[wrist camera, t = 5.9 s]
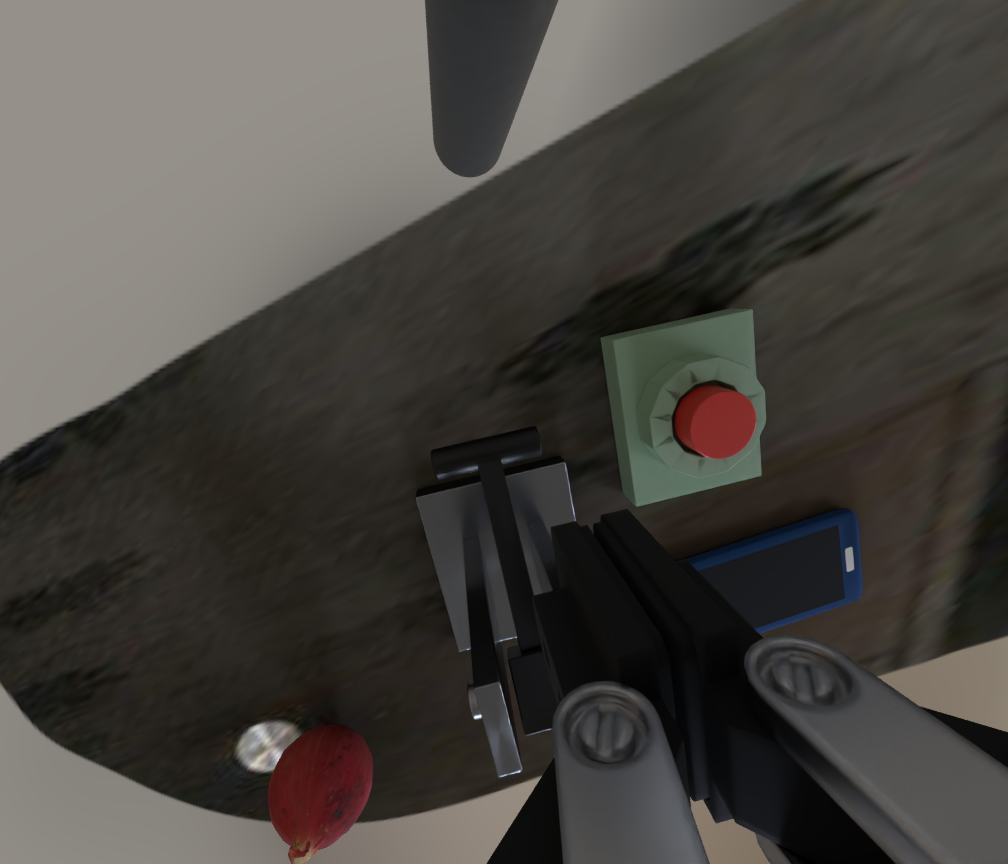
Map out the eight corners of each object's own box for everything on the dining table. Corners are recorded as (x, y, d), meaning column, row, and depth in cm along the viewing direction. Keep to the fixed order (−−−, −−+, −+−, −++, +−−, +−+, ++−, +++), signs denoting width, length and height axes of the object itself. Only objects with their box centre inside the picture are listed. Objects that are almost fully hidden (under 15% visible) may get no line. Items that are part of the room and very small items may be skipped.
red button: (670, 393, 25) (686, 399, 23) (734, 378, 25) (755, 383, 24) (677, 456, 26) (693, 466, 24) (738, 441, 26) (758, 450, 25)
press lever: (434, 455, 23) (427, 444, 21) (533, 432, 24) (536, 419, 21) (491, 724, 20) (489, 746, 18) (602, 693, 21) (614, 712, 18)
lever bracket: (416, 489, 28) (395, 628, 16) (560, 454, 29) (646, 564, 17) (457, 638, 31) (466, 852, 19) (587, 605, 32) (677, 791, 20)
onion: (359, 681, 31) (332, 803, 24) (392, 744, 33) (377, 876, 25) (275, 712, 31) (221, 845, 24) (313, 774, 33) (273, 917, 25)
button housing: (600, 337, 27) (625, 342, 24) (729, 308, 28) (775, 308, 24) (622, 493, 30) (648, 520, 26) (740, 464, 31) (782, 487, 27)
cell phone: (856, 592, 34) (865, 598, 34) (677, 653, 34) (682, 660, 33) (849, 503, 32) (858, 508, 32) (658, 567, 32) (663, 573, 31)
